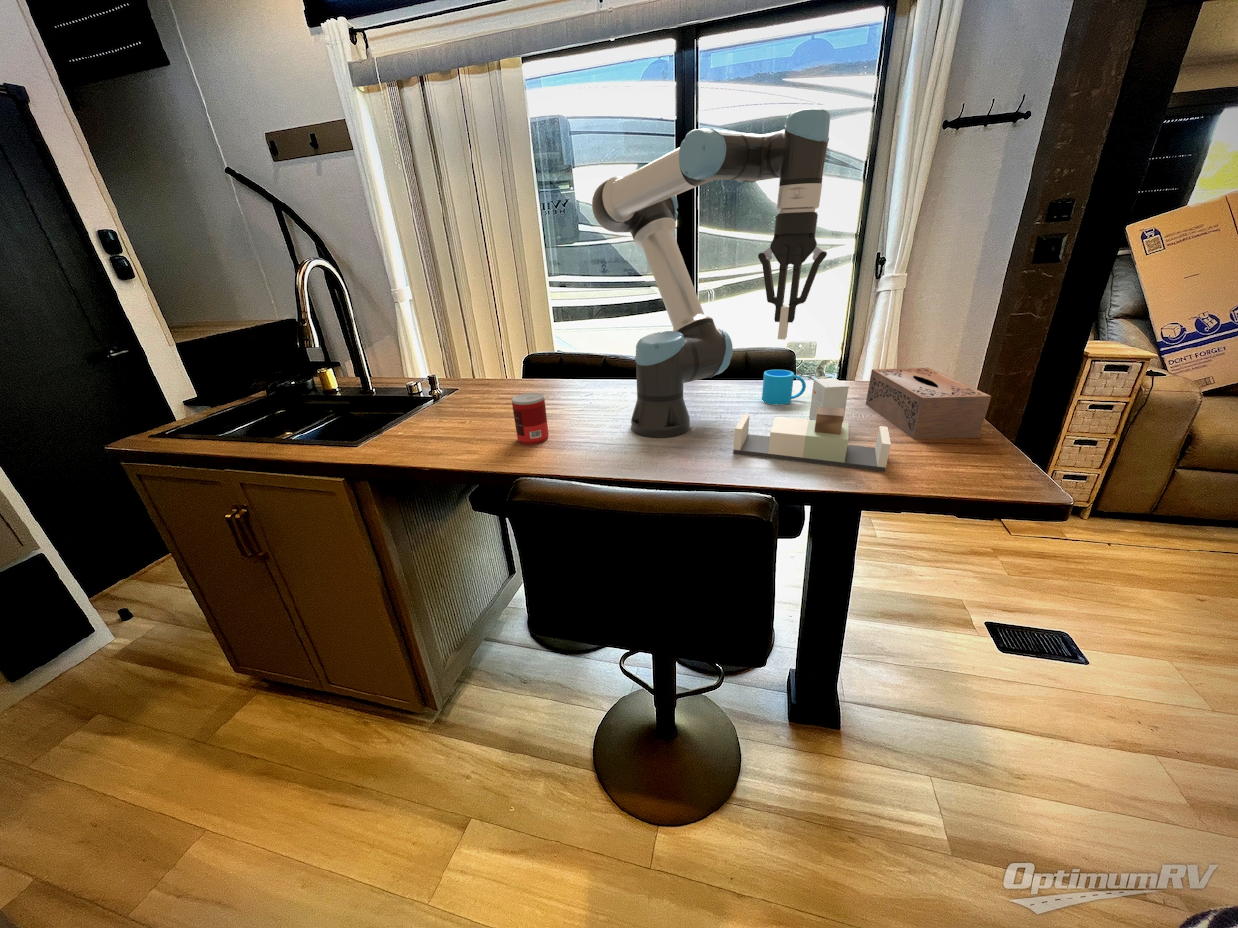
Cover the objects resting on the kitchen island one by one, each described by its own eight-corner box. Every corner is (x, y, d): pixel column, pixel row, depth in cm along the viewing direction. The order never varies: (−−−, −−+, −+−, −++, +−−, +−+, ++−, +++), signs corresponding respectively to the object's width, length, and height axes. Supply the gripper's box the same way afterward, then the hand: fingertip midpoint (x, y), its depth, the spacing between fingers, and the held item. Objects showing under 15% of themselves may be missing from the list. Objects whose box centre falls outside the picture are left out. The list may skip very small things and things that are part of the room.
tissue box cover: (865, 404, 131) (871, 369, 127) (919, 403, 130) (927, 367, 126) (912, 440, 108) (922, 398, 103) (978, 438, 107) (991, 396, 102)
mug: (764, 405, 134) (766, 377, 130) (759, 396, 141) (761, 370, 138) (807, 404, 133) (811, 376, 129) (800, 396, 140) (803, 369, 137)
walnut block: (814, 432, 98) (816, 414, 97) (815, 424, 102) (818, 406, 101) (840, 434, 96) (843, 416, 95) (840, 426, 100) (843, 408, 99)
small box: (842, 428, 116) (849, 386, 111) (819, 428, 116) (825, 387, 111) (830, 417, 123) (836, 377, 118) (808, 417, 123) (813, 378, 119)
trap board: (733, 453, 105) (734, 428, 102) (741, 437, 113) (743, 413, 110) (884, 472, 93) (890, 444, 91) (882, 452, 102) (887, 426, 99)
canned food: (554, 435, 120) (550, 393, 116) (537, 446, 114) (531, 403, 109) (530, 431, 123) (524, 391, 119) (511, 443, 117) (504, 400, 112)
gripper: (758, 213, 88) (747, 340, 99) (833, 209, 83) (813, 343, 94) (765, 213, 94) (754, 333, 105) (835, 210, 89) (816, 336, 100)
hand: (782, 338), depth 99 cm, fingers closed
